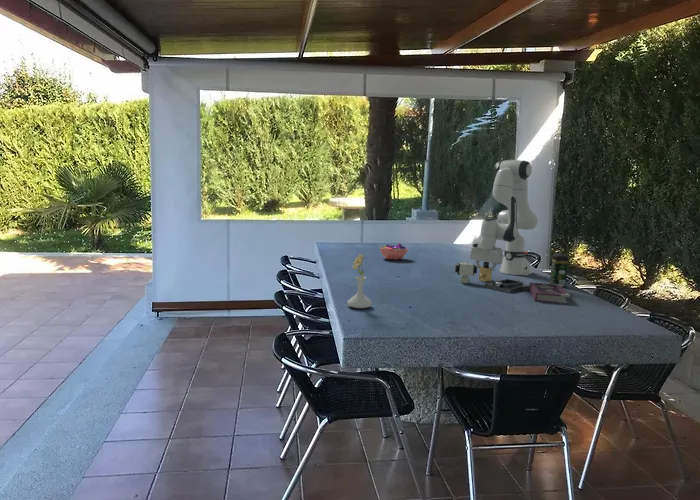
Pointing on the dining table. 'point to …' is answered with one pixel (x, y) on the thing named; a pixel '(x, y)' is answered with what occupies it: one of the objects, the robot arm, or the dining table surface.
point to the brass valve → (485, 272)
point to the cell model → (393, 251)
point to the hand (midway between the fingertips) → (485, 269)
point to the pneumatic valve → (465, 271)
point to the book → (548, 292)
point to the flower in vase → (359, 287)
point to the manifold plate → (507, 285)
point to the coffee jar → (559, 269)
